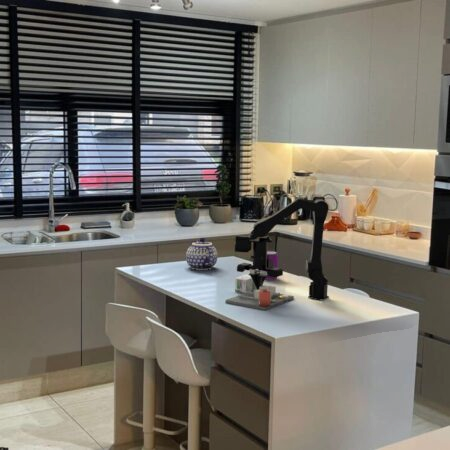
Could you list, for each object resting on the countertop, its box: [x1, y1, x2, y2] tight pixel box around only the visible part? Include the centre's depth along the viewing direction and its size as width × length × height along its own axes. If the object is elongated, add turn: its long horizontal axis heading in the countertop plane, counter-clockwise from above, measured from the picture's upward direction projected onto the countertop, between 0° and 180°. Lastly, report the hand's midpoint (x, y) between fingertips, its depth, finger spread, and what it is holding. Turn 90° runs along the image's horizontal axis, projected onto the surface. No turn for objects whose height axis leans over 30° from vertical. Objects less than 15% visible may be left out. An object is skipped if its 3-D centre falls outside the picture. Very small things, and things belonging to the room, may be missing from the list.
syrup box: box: [234, 272, 264, 294], centre depth 296 cm, size 6×6×14 cm
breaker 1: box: [254, 289, 271, 299], centre depth 274 cm, size 5×4×4 cm
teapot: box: [185, 237, 218, 271], centre depth 336 cm, size 25×15×15 cm, turn 20°
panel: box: [225, 289, 295, 311], centre depth 277 cm, size 18×22×2 cm
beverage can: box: [262, 250, 279, 281], centre depth 316 cm, size 8×8×12 cm
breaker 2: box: [259, 284, 277, 295], centre depth 281 cm, size 5×4×4 cm
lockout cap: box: [259, 289, 271, 306], centre depth 267 cm, size 4×4×6 cm
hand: (259, 290), depth 283 cm, fingers closed
